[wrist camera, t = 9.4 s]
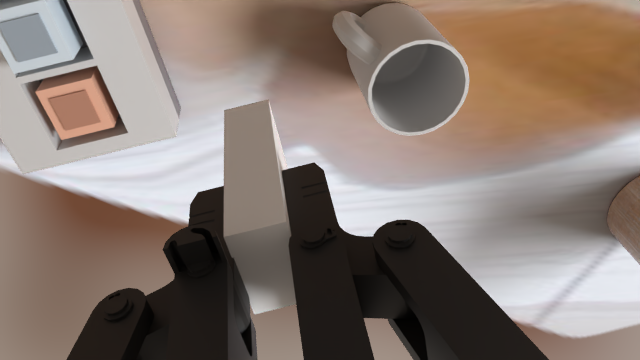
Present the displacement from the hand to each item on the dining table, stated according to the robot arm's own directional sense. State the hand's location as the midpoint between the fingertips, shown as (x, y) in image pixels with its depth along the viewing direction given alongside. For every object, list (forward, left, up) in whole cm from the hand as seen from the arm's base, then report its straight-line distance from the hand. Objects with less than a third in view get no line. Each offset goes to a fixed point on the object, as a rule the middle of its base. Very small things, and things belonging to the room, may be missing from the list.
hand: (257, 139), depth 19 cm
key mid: (0, -14, -23) cm, 27 cm away
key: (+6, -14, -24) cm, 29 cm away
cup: (+8, +9, -27) cm, 29 cm away
